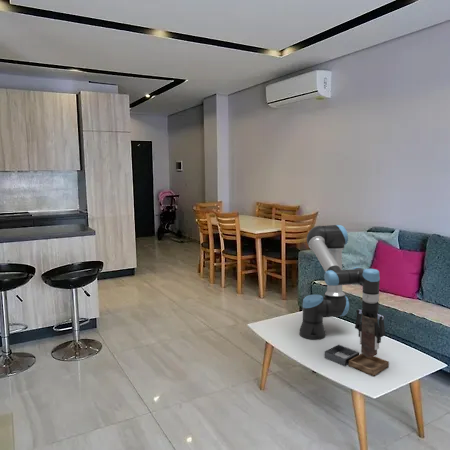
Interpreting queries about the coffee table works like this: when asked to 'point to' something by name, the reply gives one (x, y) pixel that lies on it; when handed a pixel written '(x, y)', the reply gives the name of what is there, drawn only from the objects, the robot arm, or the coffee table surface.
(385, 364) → the tray
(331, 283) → the robot arm
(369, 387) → the coffee table surface
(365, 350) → the rusty brown cylinder
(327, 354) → the collar
